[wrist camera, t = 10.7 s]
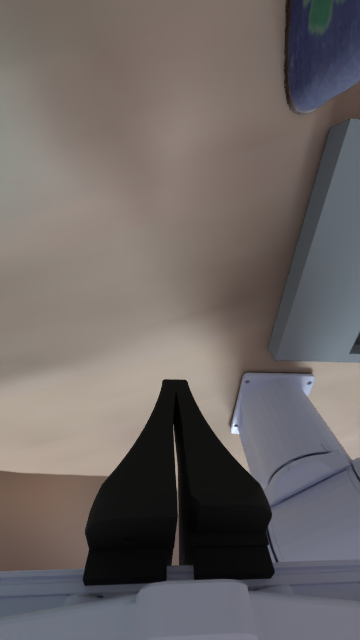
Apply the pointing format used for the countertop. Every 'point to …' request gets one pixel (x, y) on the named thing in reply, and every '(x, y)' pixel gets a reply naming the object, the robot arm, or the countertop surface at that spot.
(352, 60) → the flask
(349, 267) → the trap deck
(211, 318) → the countertop surface
